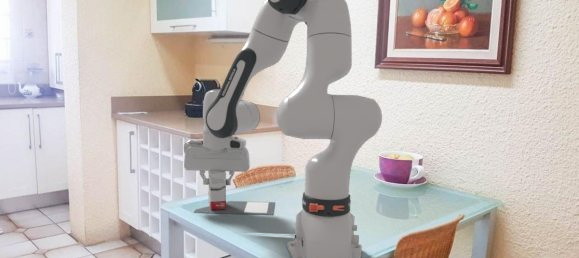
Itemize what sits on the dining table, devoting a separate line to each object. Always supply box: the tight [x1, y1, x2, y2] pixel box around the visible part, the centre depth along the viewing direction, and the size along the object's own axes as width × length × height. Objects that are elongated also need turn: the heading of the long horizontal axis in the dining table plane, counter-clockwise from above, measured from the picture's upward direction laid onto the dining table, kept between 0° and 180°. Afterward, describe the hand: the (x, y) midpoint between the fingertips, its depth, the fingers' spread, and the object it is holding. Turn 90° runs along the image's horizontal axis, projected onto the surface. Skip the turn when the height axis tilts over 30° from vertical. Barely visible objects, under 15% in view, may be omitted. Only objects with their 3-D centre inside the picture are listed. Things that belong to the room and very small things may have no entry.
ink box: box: [207, 171, 227, 210], centre depth 145 cm, size 9×5×12 cm, turn 15°
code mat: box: [193, 200, 276, 216], centre depth 145 cm, size 13×24×1 cm, turn 89°
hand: (217, 184), depth 145 cm, fingers closed on ink box, 5 cm apart
